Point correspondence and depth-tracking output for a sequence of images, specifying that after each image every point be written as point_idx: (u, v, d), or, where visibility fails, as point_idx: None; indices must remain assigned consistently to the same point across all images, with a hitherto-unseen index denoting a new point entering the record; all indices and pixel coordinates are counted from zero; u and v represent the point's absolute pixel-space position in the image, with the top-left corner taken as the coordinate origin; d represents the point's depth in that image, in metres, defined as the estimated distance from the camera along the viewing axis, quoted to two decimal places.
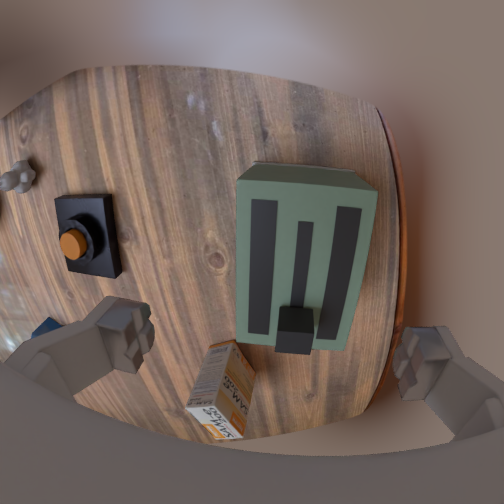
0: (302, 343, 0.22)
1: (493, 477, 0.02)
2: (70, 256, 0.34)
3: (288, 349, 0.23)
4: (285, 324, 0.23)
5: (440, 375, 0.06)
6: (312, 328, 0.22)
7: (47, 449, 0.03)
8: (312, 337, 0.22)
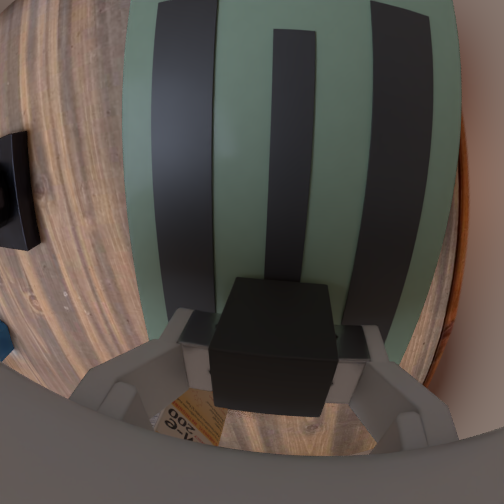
0: (296, 389, 0.06)
1: (493, 477, 0.02)
2: None
3: (253, 405, 0.07)
4: (240, 326, 0.07)
5: (359, 378, 0.06)
6: (330, 341, 0.07)
7: (47, 449, 0.03)
8: (331, 372, 0.06)
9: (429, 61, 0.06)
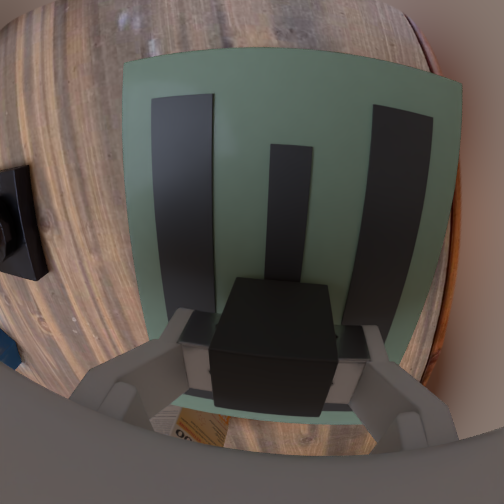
0: (296, 389, 0.06)
1: (493, 477, 0.02)
2: None
3: (253, 405, 0.07)
4: (240, 327, 0.07)
5: (360, 378, 0.06)
6: (330, 342, 0.07)
7: (47, 449, 0.03)
8: (331, 373, 0.06)
9: (425, 172, 0.07)
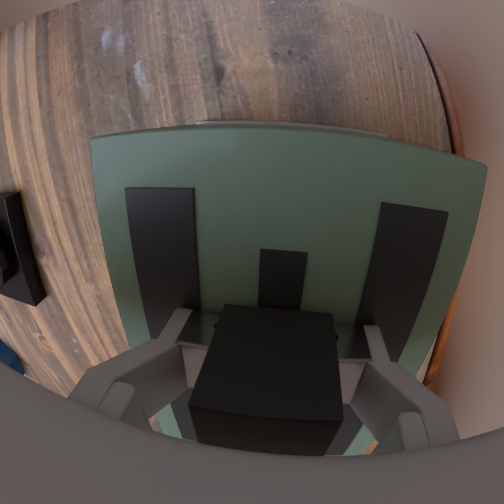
0: (293, 444, 0.05)
1: (493, 477, 0.02)
2: None
3: None
4: (226, 374, 0.06)
5: (361, 378, 0.06)
6: (335, 394, 0.05)
7: (47, 449, 0.03)
8: (333, 430, 0.05)
9: (429, 272, 0.07)
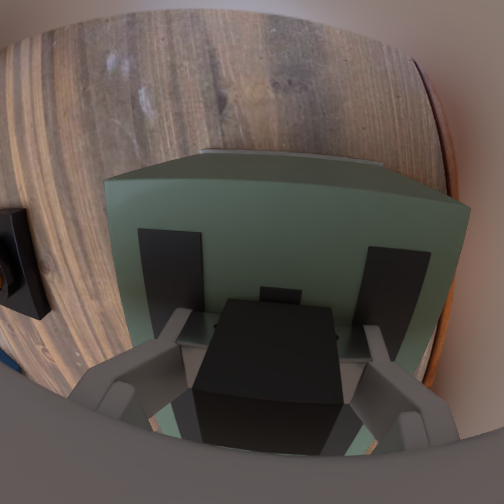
0: (294, 431, 0.05)
1: (493, 477, 0.02)
2: None
3: (246, 443, 0.06)
4: (230, 360, 0.06)
5: (361, 378, 0.06)
6: (335, 379, 0.05)
7: (47, 449, 0.03)
8: (334, 415, 0.05)
9: (412, 305, 0.08)
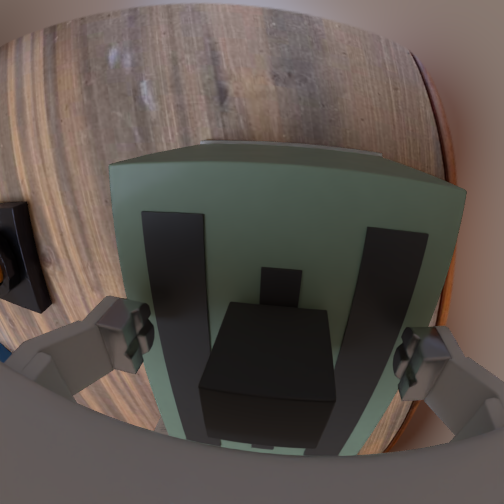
0: (291, 425, 0.06)
1: (493, 477, 0.02)
2: None
3: (247, 437, 0.06)
4: (233, 361, 0.06)
5: (440, 375, 0.06)
6: (328, 378, 0.06)
7: (47, 449, 0.03)
8: (328, 411, 0.05)
9: (411, 286, 0.08)
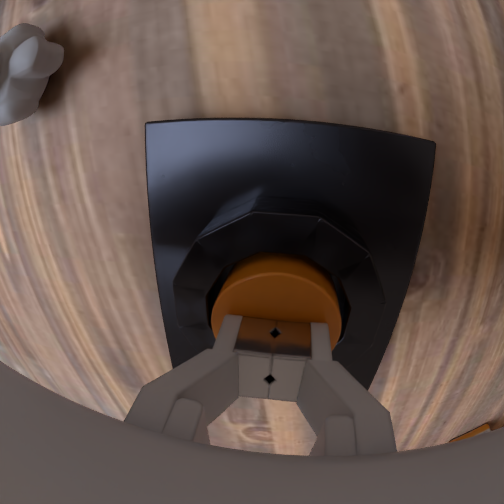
0: None
1: (493, 477, 0.02)
2: None
3: None
4: None
5: (302, 377, 0.07)
6: None
7: (47, 449, 0.03)
8: None
9: None
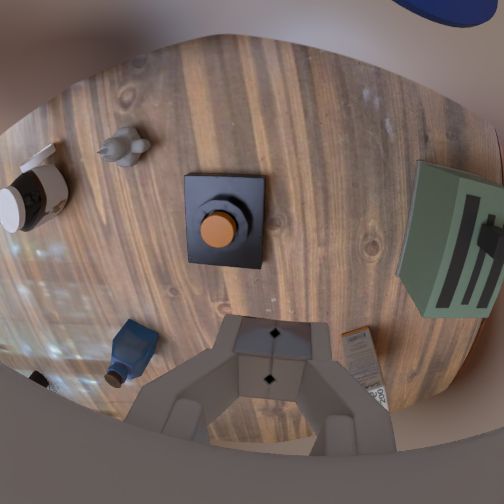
0: None
1: (493, 477, 0.02)
2: (214, 243, 0.34)
3: (501, 256, 0.20)
4: (498, 232, 0.20)
5: (302, 376, 0.07)
6: None
7: (47, 449, 0.03)
8: None
9: None
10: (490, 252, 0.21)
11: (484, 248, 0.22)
